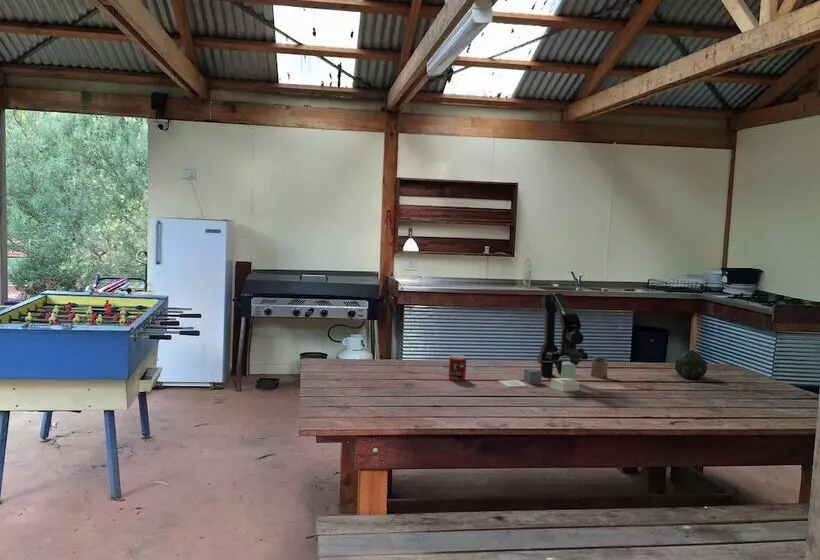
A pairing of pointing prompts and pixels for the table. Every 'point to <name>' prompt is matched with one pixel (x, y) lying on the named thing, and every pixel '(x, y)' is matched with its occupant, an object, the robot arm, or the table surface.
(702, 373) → the squash
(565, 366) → the sage block
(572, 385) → the base block
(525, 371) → the charcoal block
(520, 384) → the tile
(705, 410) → the table surface
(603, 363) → the lighter
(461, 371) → the canned food
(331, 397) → the table surface
